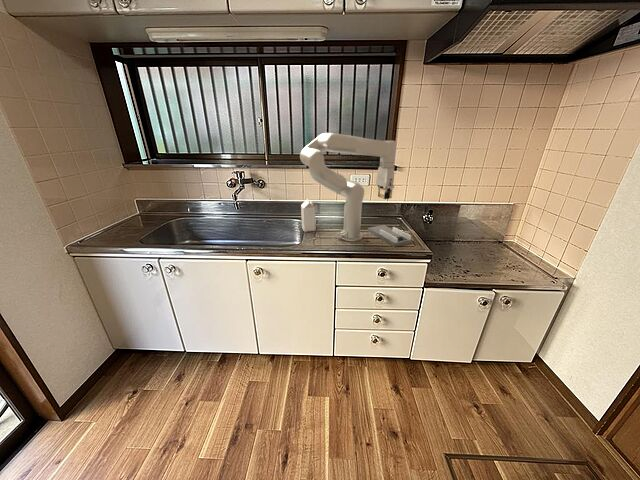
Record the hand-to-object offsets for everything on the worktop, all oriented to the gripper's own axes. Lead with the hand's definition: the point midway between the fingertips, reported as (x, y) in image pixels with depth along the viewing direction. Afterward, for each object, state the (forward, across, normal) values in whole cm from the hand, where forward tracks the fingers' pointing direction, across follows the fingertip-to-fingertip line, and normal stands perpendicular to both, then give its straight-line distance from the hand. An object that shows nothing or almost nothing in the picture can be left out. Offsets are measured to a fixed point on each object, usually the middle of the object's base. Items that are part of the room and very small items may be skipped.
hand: (383, 197), depth 146 cm
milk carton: (+22, -22, -38) cm, 49 cm away
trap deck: (+21, +8, 0) cm, 23 cm away
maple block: (0, 0, +1) cm, 1 cm away
